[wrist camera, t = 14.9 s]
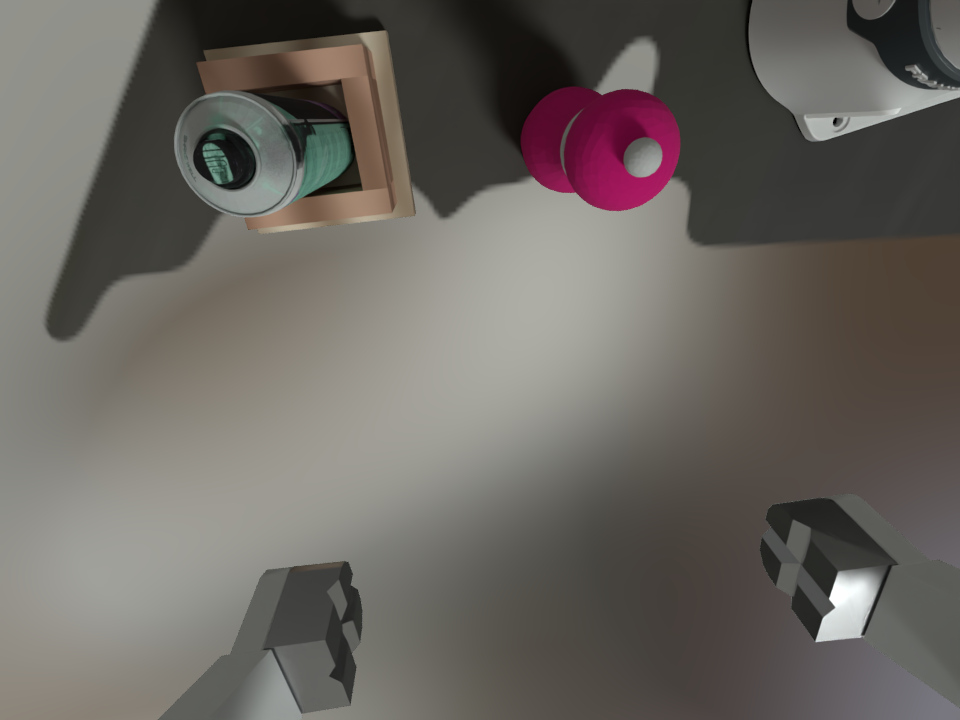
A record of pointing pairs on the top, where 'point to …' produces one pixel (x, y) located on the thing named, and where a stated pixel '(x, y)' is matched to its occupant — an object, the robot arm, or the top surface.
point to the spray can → (260, 150)
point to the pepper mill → (602, 145)
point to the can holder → (353, 91)
